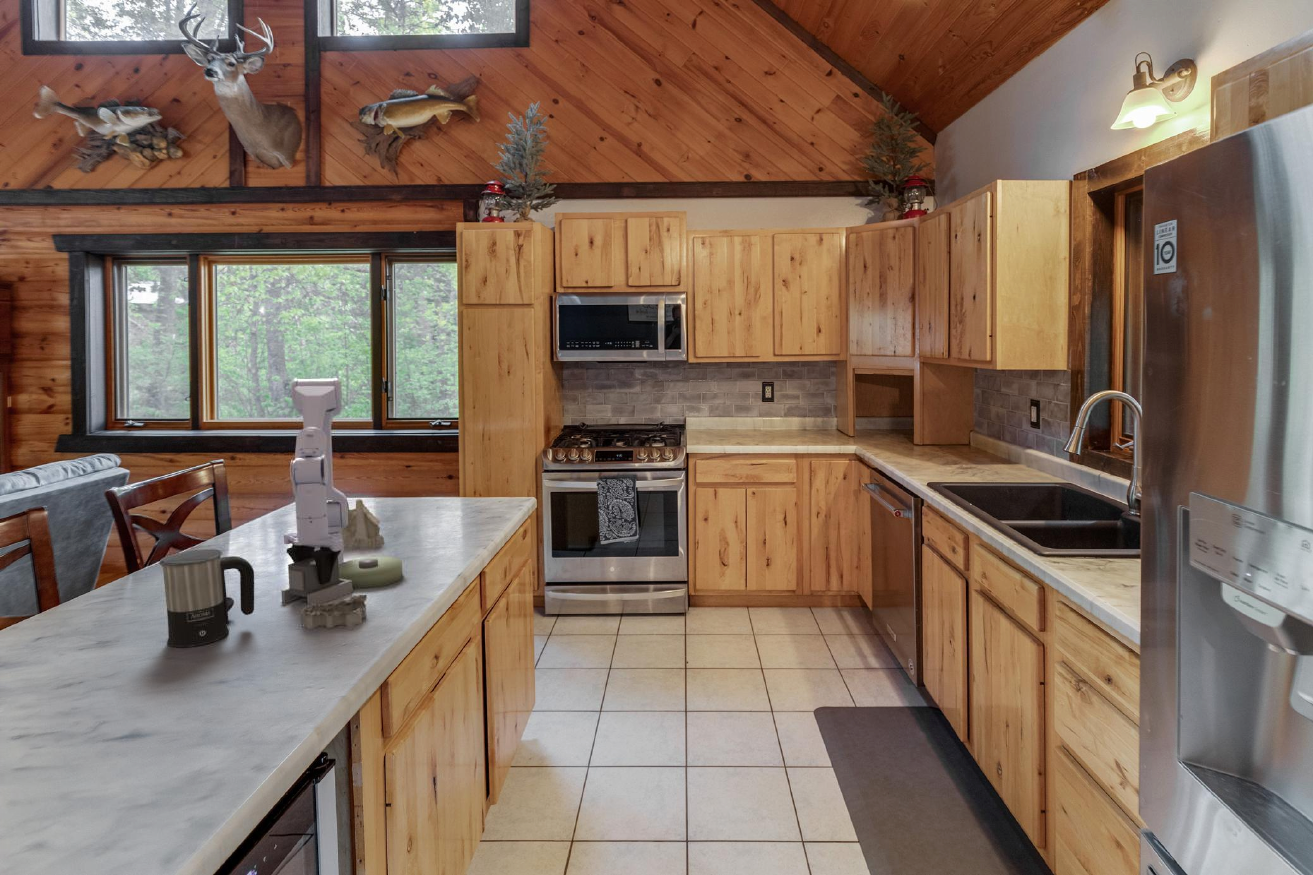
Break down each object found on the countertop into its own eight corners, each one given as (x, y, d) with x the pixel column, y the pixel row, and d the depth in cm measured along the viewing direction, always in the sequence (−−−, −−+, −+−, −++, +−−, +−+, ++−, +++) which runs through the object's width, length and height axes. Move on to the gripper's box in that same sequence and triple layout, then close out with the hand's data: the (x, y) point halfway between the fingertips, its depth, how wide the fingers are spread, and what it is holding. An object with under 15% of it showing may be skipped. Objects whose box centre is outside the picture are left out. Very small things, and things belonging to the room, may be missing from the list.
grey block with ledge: (305, 597, 143) (303, 568, 142) (288, 594, 145) (286, 565, 144) (339, 585, 151) (338, 557, 150) (322, 582, 153) (321, 554, 152)
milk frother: (182, 653, 121) (176, 566, 119) (137, 634, 129) (131, 552, 128) (266, 626, 133) (261, 547, 131) (220, 610, 141) (215, 535, 140)
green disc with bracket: (271, 600, 147) (270, 580, 146) (369, 566, 170) (368, 550, 170) (321, 609, 141) (320, 589, 141) (415, 573, 165) (415, 556, 164)
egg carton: (370, 614, 140) (369, 593, 139) (357, 628, 132) (356, 607, 132) (313, 615, 139) (312, 594, 138) (297, 630, 131) (296, 608, 131)
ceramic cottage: (375, 549, 185) (371, 490, 185) (311, 552, 185) (307, 493, 185) (396, 538, 201) (393, 484, 200) (337, 540, 201) (334, 486, 200)
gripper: (269, 516, 146) (273, 582, 147) (321, 523, 140) (325, 591, 141) (299, 509, 152) (302, 573, 154) (350, 516, 146) (353, 581, 148)
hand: (315, 581), depth 148 cm, fingers closed on grey block with ledge, 5 cm apart
